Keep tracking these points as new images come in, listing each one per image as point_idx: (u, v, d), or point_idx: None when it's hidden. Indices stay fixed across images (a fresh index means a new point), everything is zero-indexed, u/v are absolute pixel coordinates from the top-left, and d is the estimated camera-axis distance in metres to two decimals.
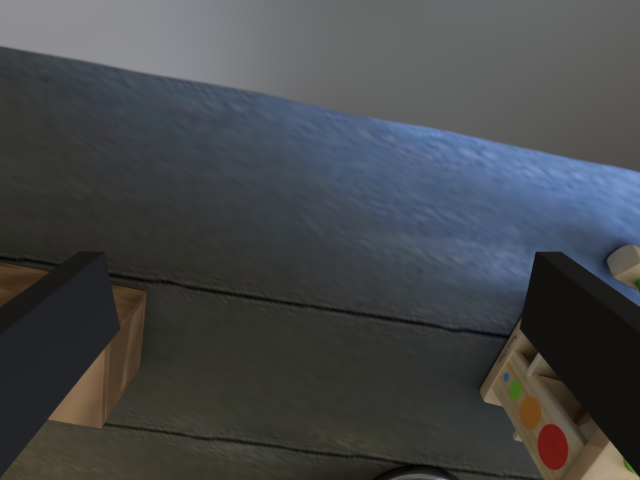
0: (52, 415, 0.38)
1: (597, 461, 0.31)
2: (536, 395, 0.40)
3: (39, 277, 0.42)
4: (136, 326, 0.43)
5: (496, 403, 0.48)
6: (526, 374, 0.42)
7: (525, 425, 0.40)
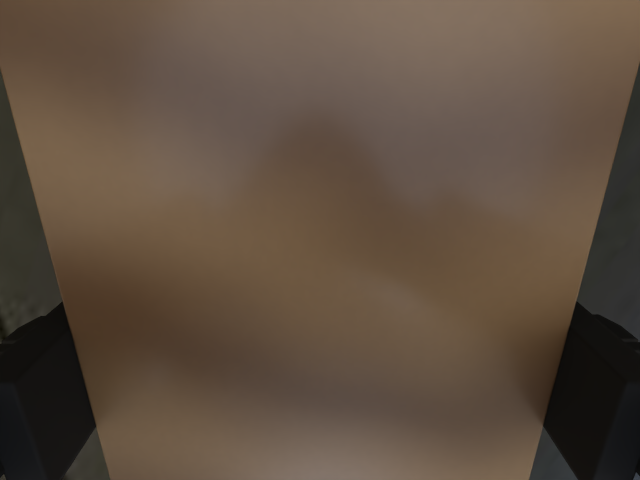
0: (113, 386, 0.09)
1: None
2: None
3: None
4: None
5: None
6: None
7: None
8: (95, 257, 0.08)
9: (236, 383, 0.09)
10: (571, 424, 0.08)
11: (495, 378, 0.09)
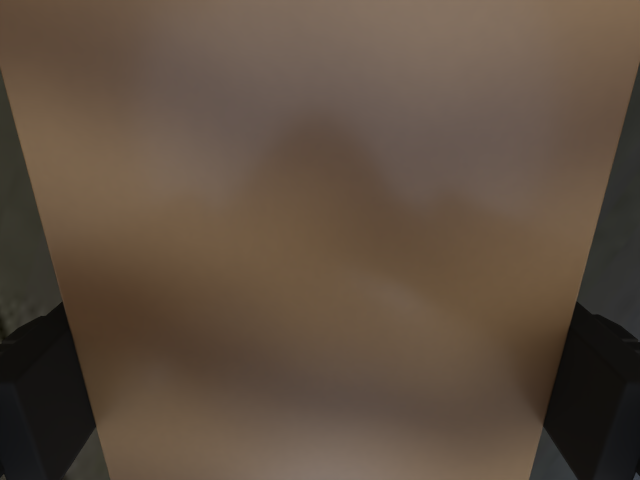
0: (113, 386, 0.09)
1: None
2: None
3: None
4: None
5: None
6: None
7: None
8: (95, 257, 0.08)
9: (236, 383, 0.09)
10: (570, 424, 0.08)
11: (495, 378, 0.09)
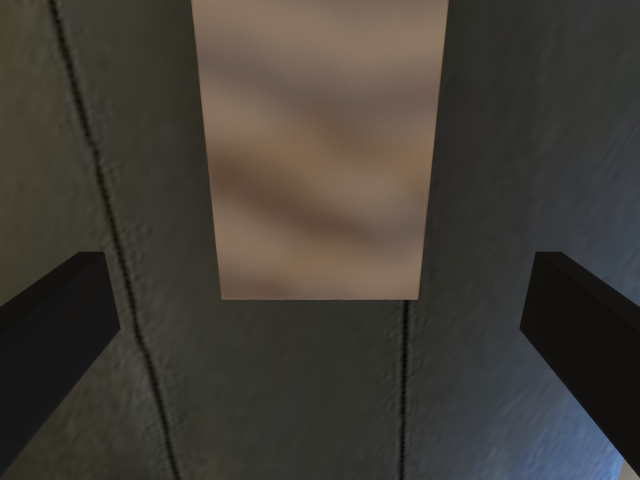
0: (226, 217, 0.19)
1: None
2: None
3: None
4: None
5: None
6: None
7: None
8: (225, 153, 0.18)
9: (282, 216, 0.19)
10: None
11: (399, 214, 0.19)
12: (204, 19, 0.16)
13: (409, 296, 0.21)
